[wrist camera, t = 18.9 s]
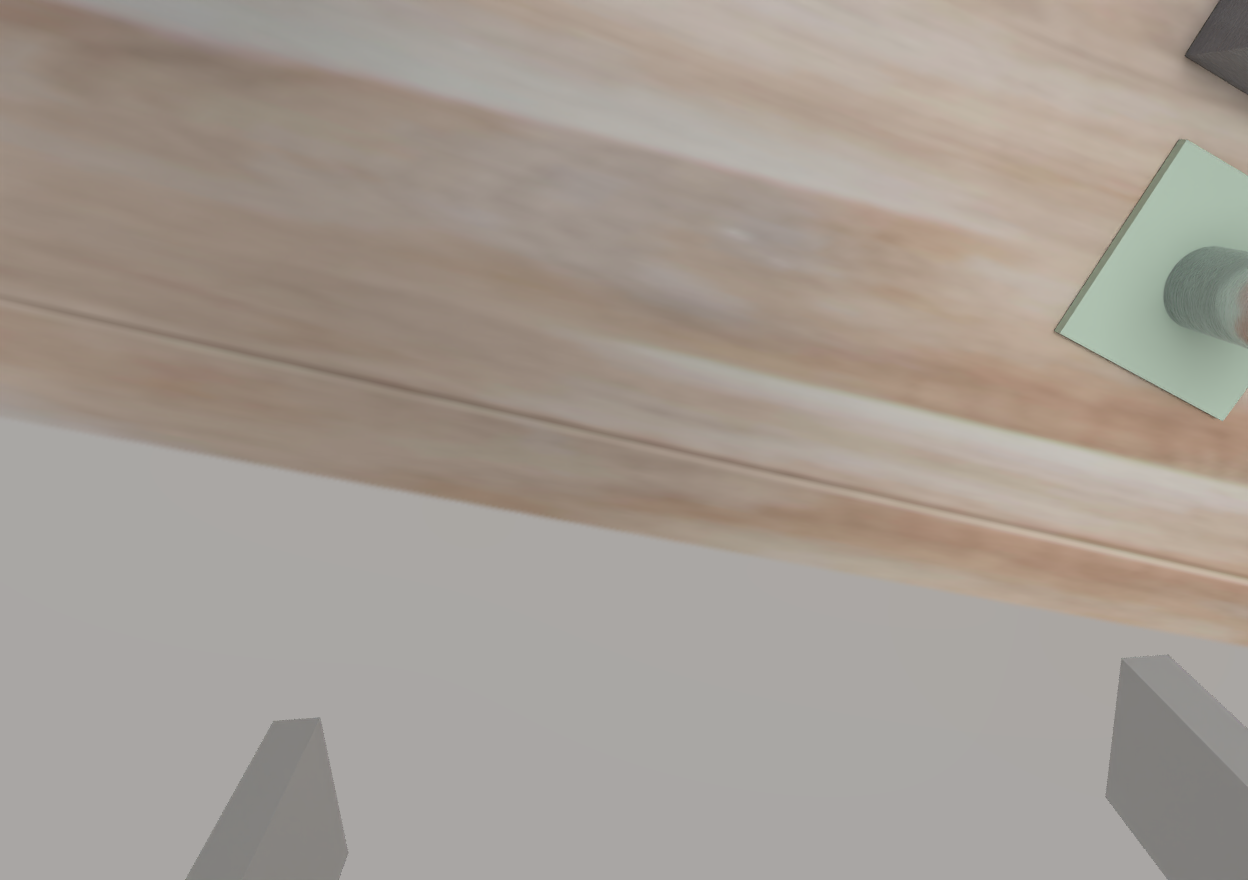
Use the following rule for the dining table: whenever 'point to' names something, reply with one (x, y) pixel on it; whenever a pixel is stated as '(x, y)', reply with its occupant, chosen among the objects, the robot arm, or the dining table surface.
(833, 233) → the dining table surface
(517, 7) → the dining table surface
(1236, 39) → the block
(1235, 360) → the pad
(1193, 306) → the grey piece
